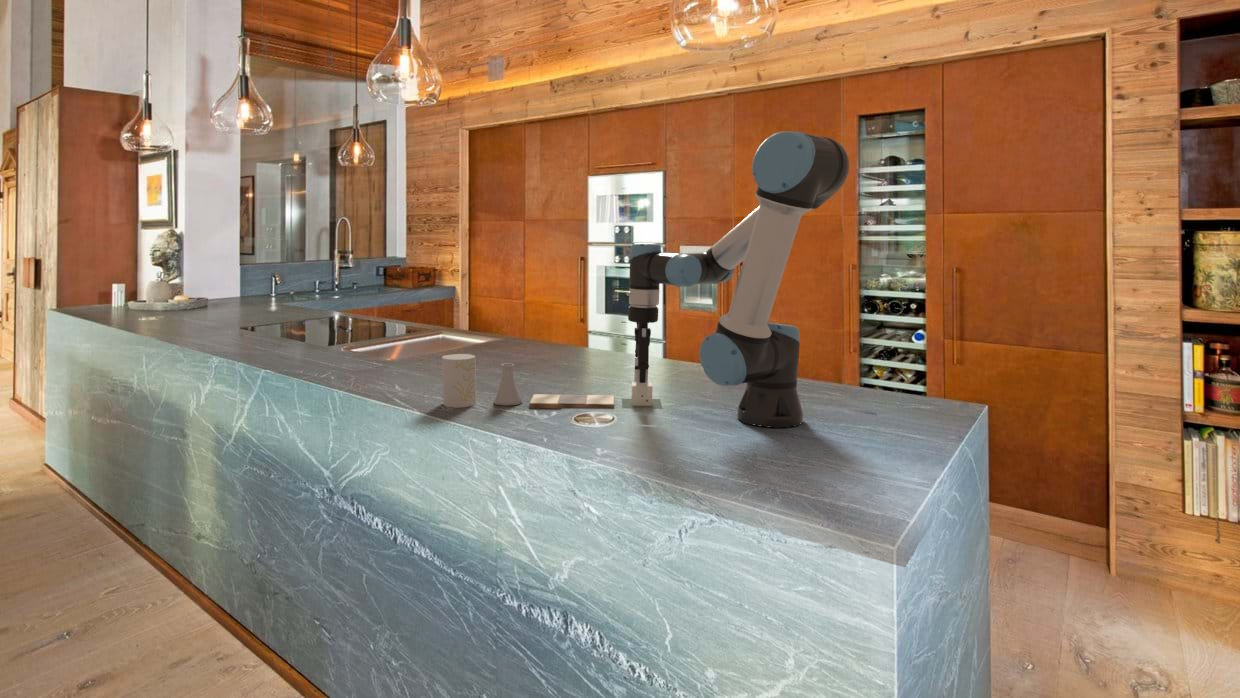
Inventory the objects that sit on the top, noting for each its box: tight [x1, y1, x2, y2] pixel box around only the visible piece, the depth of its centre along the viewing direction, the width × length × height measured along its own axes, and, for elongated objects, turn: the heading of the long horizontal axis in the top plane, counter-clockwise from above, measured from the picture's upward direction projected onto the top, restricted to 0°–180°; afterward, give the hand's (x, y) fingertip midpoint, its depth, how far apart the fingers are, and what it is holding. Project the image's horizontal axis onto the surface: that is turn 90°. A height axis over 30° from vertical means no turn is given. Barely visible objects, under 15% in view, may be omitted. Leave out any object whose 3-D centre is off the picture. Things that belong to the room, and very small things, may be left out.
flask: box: [493, 362, 523, 407], centre depth 176 cm, size 7×7×10 cm
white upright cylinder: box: [441, 353, 477, 409], centre depth 175 cm, size 8×8×12 cm
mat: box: [621, 398, 663, 409], centre depth 177 cm, size 10×10×1 cm
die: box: [630, 381, 653, 406], centre depth 177 cm, size 5×5×5 cm
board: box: [528, 393, 615, 409], centre depth 177 cm, size 21×10×1 cm, turn 91°
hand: (640, 388), depth 177 cm, fingers open, 13 cm apart
